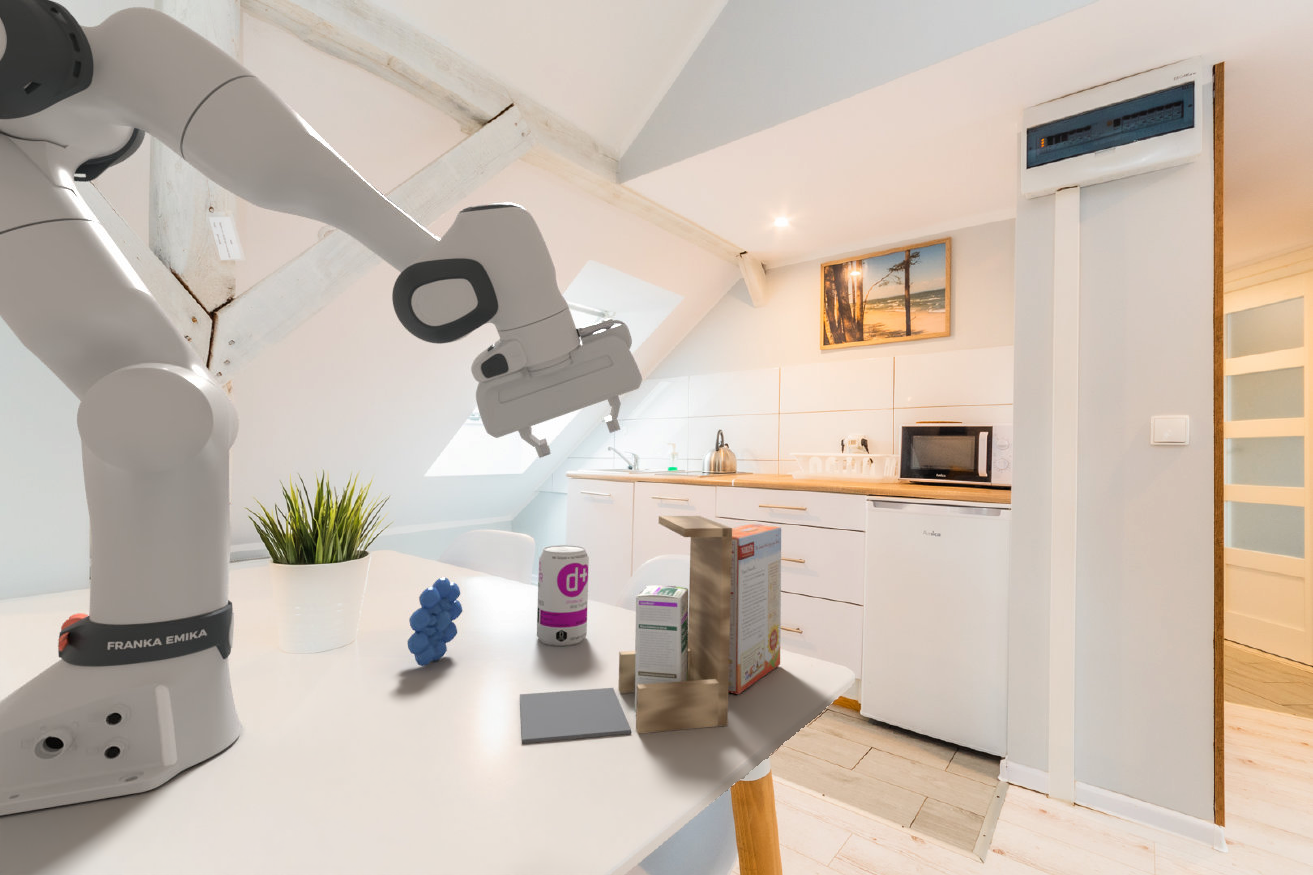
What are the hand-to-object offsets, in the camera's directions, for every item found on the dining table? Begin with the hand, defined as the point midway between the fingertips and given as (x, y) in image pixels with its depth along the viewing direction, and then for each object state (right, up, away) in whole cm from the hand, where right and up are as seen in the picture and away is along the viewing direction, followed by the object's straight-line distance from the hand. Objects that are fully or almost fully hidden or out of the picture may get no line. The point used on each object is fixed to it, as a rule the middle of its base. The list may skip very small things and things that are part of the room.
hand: (580, 442), depth 77 cm
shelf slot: (+11, -33, -2) cm, 35 cm away
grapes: (-24, -33, +11) cm, 42 cm away
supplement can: (-6, -33, +23) cm, 41 cm away
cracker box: (+22, -34, +9) cm, 41 cm away
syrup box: (+10, -33, -3) cm, 35 cm away
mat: (0, -33, -5) cm, 33 cm away
